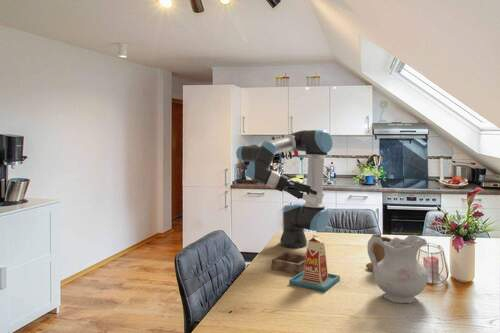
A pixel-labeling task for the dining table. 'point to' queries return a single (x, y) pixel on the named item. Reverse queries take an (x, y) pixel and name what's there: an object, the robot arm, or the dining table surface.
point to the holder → (289, 262)
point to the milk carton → (315, 262)
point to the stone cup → (378, 252)
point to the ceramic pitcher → (399, 268)
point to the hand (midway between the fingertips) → (319, 199)
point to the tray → (327, 285)
